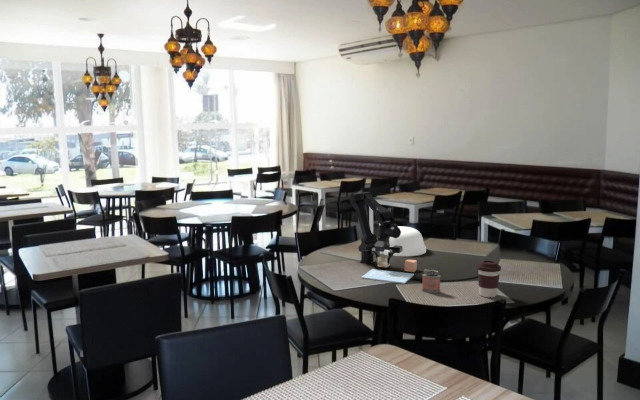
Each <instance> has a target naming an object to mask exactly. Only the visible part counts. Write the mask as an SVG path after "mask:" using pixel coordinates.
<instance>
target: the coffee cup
mask: <svg viewBox="0 0 640 400" xmlns="http://www.w3.org/2000/svg"><path fill="white" fill-rule="evenodd" d="M476 269H477V270H478V273H477V277H478V278H477V279H478V280H477V281H478V291H479V292H478V294H479V295H480V296H481V297H484V298H490V297H491V298H495V297H497V295H498V294H497V293H498V287H499V283H500V281H499V280H500V272H501V270H502V266H501V264H498V262H497V261H495V260H487V259H486V260H481V261H480V263H477V265H476Z"/></svg>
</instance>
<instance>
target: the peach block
mask: <svg viewBox="0 0 640 400" xmlns="http://www.w3.org/2000/svg"><path fill="white" fill-rule="evenodd" d="M417 268H418V261H417V260H416V259H406V260H405V261H404V272H408V273H409V272H411V273H415V272H416V271H417Z"/></svg>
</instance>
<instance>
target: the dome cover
mask: <svg viewBox="0 0 640 400" xmlns="http://www.w3.org/2000/svg"><path fill="white" fill-rule="evenodd" d="M398 228H400V231H401V234H400V236H399V237H398V238H393V237H390V239H389V244H390V246H389V247H393V246H395V245H398V246H402V248H403V251H402V252H400V253H394V254H393V256H392V257H415V256H421V255H423V254H425V253H426V252H427V245H426V244H425V243H424V238H423V236H422V233H421V232H420V231H419V230H418V229H416V228H414V227H410V226H400V225H399V226H398ZM389 252H390V251H389V250H384V252H381V251H380V255H385V256H388V253H389Z"/></svg>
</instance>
